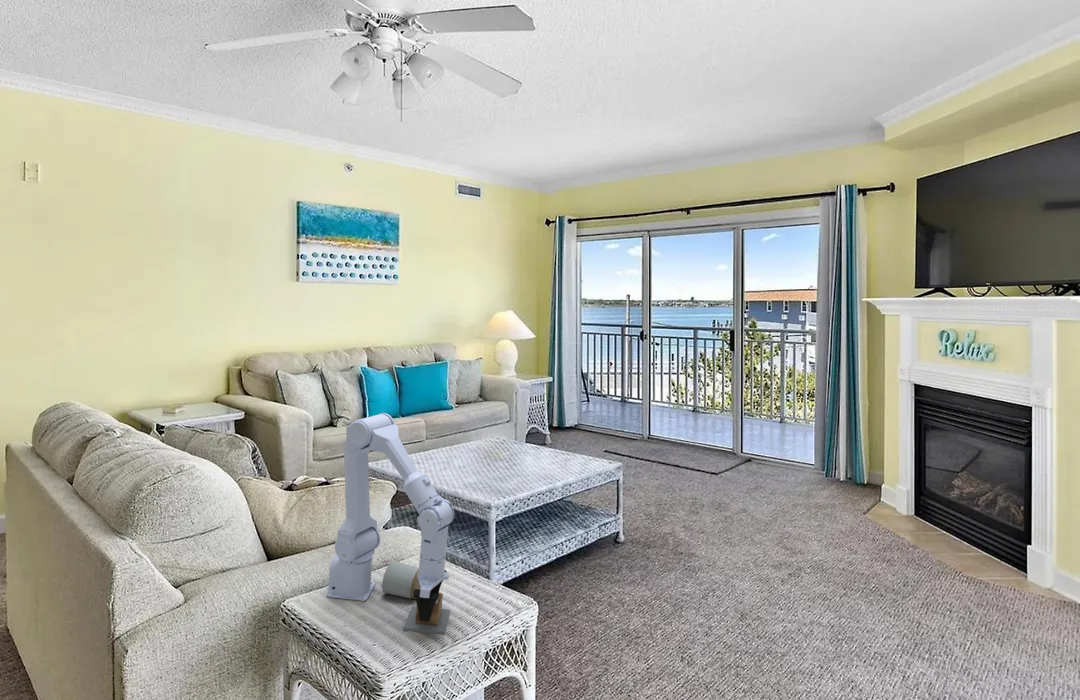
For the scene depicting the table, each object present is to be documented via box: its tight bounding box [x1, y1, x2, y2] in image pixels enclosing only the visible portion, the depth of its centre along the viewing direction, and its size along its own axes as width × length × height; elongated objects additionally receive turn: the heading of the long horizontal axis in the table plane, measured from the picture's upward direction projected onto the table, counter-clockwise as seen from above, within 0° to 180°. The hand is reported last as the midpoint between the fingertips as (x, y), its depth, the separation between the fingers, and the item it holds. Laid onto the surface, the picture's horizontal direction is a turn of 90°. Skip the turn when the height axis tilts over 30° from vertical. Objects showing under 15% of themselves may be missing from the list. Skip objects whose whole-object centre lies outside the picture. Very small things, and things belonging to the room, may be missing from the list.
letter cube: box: [415, 592, 444, 626], centre depth 142 cm, size 5×5×5 cm
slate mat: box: [402, 605, 451, 636], centre depth 142 cm, size 9×9×1 cm
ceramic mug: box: [381, 560, 421, 599], centre depth 154 cm, size 11×8×8 cm
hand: (428, 611), depth 142 cm, fingers open, 7 cm apart
